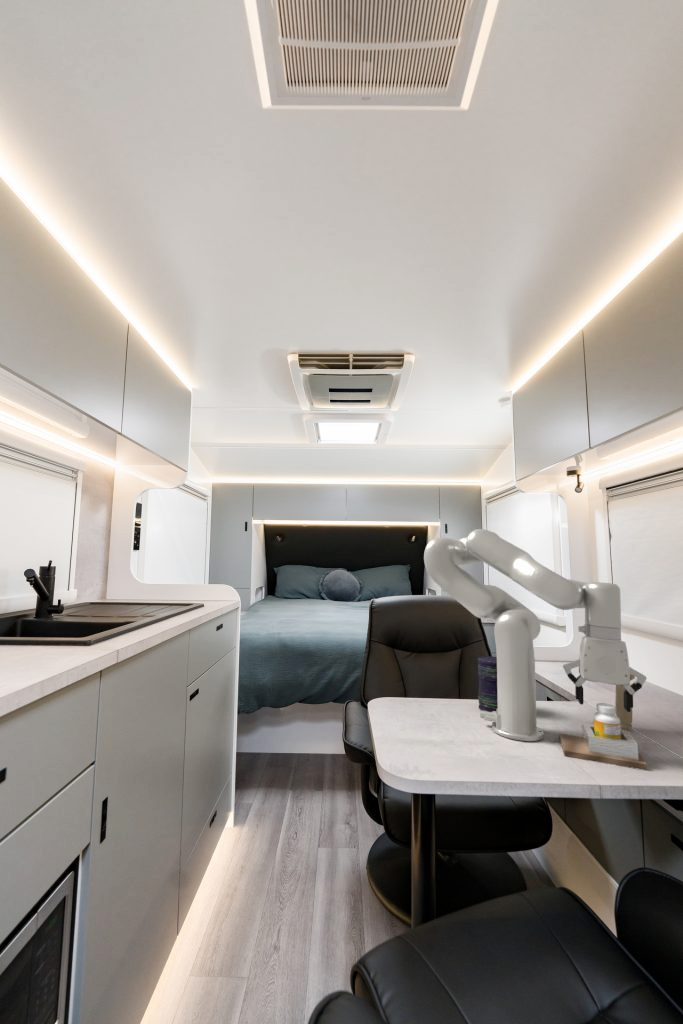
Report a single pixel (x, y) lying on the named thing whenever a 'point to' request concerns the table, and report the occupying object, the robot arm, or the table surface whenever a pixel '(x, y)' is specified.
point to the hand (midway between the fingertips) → (603, 706)
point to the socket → (610, 744)
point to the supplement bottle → (607, 722)
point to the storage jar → (487, 683)
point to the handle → (620, 711)
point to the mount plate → (578, 749)
